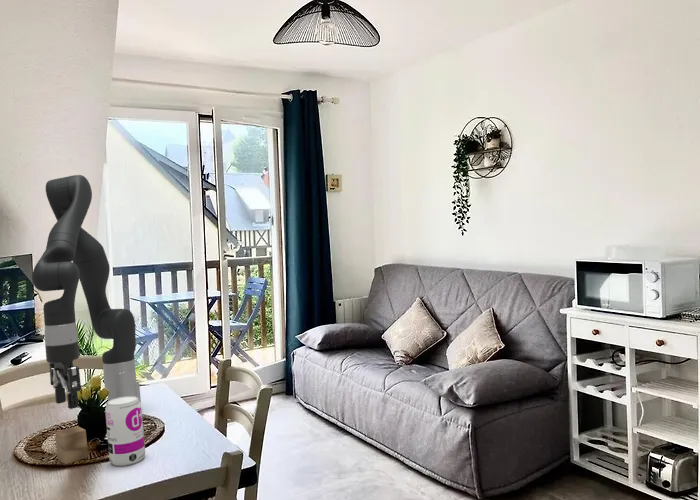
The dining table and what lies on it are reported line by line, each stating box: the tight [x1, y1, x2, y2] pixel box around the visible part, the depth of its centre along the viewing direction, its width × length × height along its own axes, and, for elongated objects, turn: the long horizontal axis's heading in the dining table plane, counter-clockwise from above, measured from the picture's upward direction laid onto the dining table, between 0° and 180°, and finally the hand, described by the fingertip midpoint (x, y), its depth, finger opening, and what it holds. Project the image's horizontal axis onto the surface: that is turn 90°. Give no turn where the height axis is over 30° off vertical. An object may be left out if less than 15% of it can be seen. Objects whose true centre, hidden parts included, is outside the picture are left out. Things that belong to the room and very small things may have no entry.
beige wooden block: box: [54, 425, 89, 465], centre depth 151 cm, size 6×6×7 cm
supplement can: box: [105, 396, 146, 467], centre depth 147 cm, size 8×8×15 cm
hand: (67, 405), depth 151 cm, fingers open, 8 cm apart
